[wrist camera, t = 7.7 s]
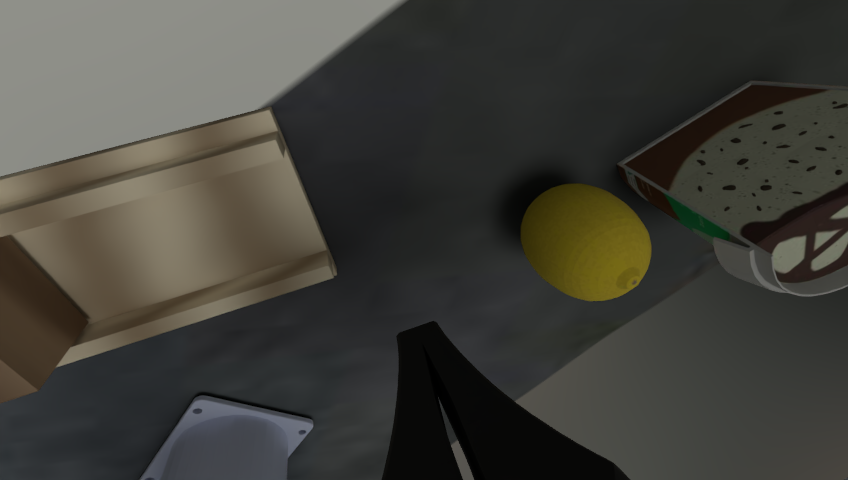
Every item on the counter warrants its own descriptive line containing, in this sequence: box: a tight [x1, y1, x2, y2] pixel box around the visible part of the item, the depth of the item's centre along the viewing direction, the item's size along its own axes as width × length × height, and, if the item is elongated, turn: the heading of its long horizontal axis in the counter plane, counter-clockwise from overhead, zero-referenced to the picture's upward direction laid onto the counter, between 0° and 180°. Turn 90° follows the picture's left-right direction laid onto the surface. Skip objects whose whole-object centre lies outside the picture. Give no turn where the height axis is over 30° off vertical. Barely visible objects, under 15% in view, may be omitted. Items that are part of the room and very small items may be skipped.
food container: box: [617, 80, 848, 296], centre depth 20 cm, size 12×6×10 cm, turn 119°
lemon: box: [521, 184, 651, 301], centre depth 20 cm, size 6×6×8 cm
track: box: [0, 106, 337, 367], centre depth 16 cm, size 18×9×5 cm, turn 102°
